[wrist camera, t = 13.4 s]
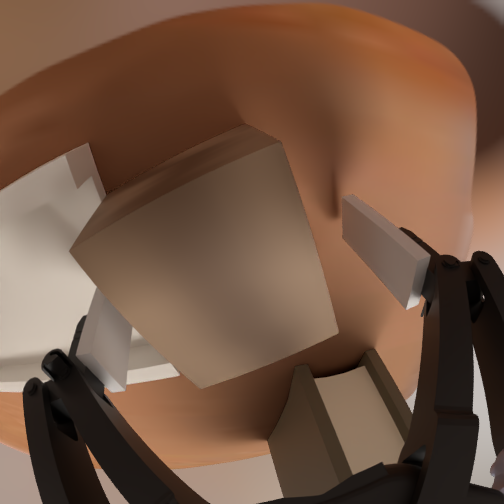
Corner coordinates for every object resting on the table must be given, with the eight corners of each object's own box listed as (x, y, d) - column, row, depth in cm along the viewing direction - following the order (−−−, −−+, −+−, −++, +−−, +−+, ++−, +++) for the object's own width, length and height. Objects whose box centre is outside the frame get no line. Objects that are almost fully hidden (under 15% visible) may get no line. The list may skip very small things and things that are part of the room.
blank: (193, 315, 19) (200, 389, 14) (107, 193, 13) (68, 251, 8) (300, 268, 18) (338, 333, 14) (244, 123, 13) (281, 141, 8)
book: (320, 426, 38) (372, 561, 15) (265, 438, 36) (311, 585, 13) (374, 348, 26) (475, 553, 4) (295, 366, 24) (389, 614, 1)
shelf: (2, 369, 18) (-5, 391, 15) (-79, 255, 10) (-95, 274, 7) (178, 343, 20) (179, 375, 17) (88, 142, 11) (65, 154, 9)
